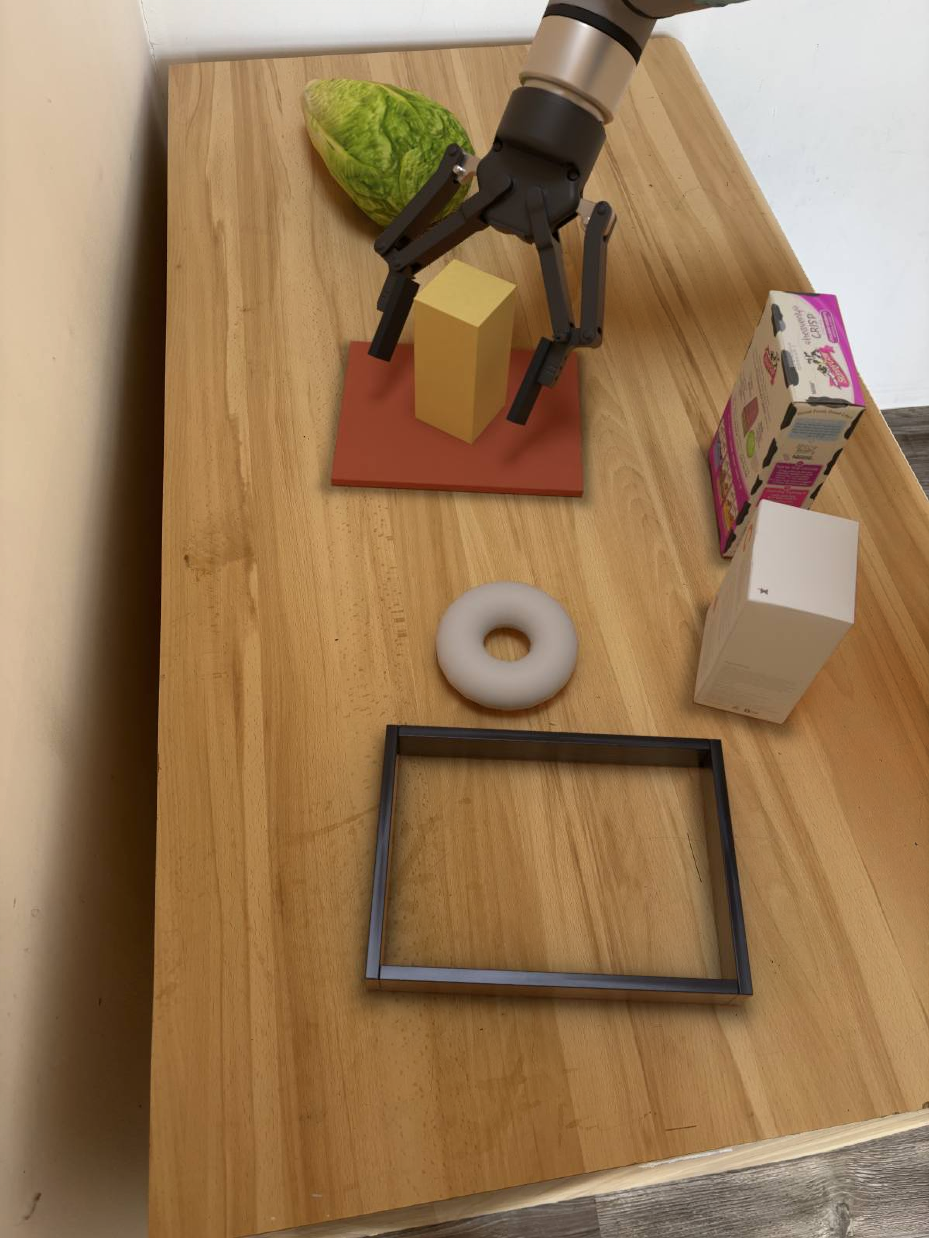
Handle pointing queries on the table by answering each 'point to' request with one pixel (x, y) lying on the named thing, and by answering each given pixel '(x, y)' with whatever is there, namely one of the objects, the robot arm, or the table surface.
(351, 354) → the mat
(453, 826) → the table surface
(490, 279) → the carton
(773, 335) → the candy bar box
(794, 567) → the small box
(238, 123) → the table surface
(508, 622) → the donut
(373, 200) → the lettuce
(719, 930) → the frame
